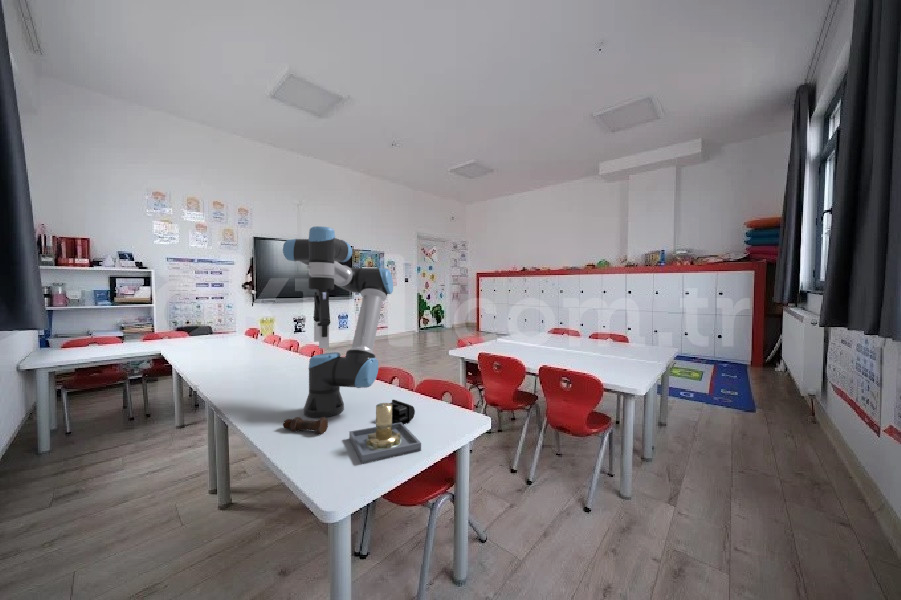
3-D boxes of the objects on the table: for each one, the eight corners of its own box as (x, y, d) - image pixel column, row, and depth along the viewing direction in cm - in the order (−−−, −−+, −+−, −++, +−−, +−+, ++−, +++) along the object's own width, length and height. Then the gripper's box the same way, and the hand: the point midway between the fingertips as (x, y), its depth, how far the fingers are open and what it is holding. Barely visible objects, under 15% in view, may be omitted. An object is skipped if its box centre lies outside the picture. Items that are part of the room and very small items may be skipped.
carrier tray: (349, 438, 110) (349, 431, 110) (401, 428, 118) (401, 422, 118) (362, 463, 94) (362, 455, 94) (421, 450, 102) (421, 442, 102)
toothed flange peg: (362, 438, 108) (363, 402, 108) (394, 432, 113) (395, 398, 113) (371, 452, 99) (371, 413, 99) (405, 445, 104) (406, 408, 104)
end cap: (415, 421, 126) (415, 403, 126) (400, 426, 120) (400, 408, 120) (397, 414, 132) (398, 397, 132) (383, 419, 127) (383, 402, 127)
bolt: (287, 433, 118) (325, 436, 115) (278, 431, 113) (317, 434, 110) (292, 416, 120) (329, 418, 118) (283, 413, 116) (322, 416, 113)
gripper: (305, 277, 114) (304, 339, 114) (312, 275, 92) (312, 351, 92) (328, 278, 117) (327, 338, 118) (341, 276, 95) (340, 350, 96)
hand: (321, 344), depth 105 cm, fingers open, 13 cm apart
